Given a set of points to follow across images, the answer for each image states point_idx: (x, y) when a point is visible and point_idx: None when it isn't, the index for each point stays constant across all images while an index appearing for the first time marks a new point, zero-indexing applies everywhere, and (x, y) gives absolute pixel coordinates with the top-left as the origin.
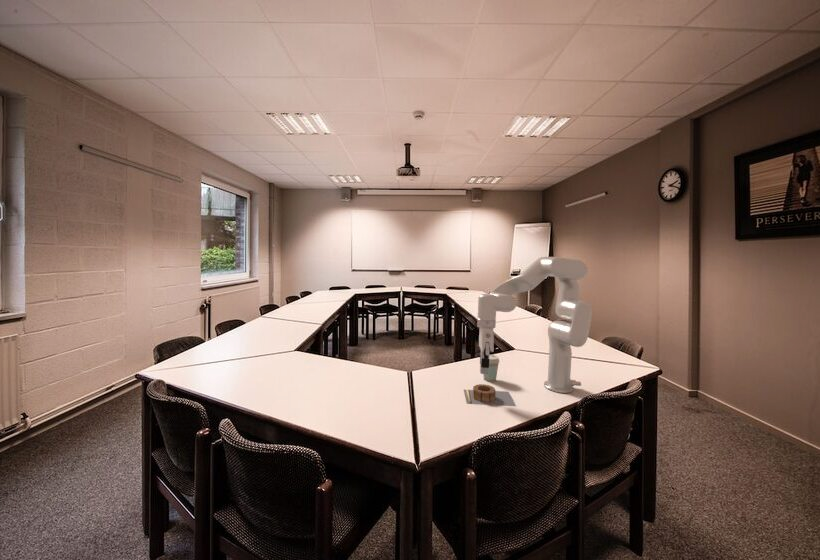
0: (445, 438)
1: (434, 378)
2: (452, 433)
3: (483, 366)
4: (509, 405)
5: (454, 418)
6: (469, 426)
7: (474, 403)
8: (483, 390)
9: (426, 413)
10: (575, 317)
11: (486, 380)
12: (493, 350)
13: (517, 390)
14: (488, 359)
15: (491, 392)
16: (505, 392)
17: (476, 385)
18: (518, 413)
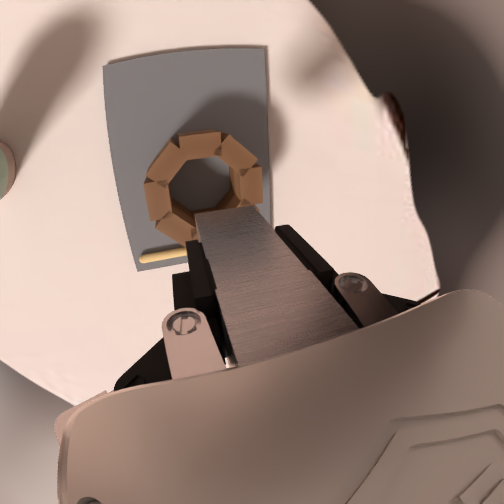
0: (410, 270)
1: (81, 363)
2: (400, 261)
3: None
4: (262, 74)
5: (349, 267)
6: (384, 227)
7: (265, 219)
8: (169, 189)
9: None
10: None
11: (10, 184)
12: (491, 297)
13: (71, 32)
14: (325, 272)
15: (250, 156)
16: (115, 78)
17: (172, 234)
18: (309, 57)
